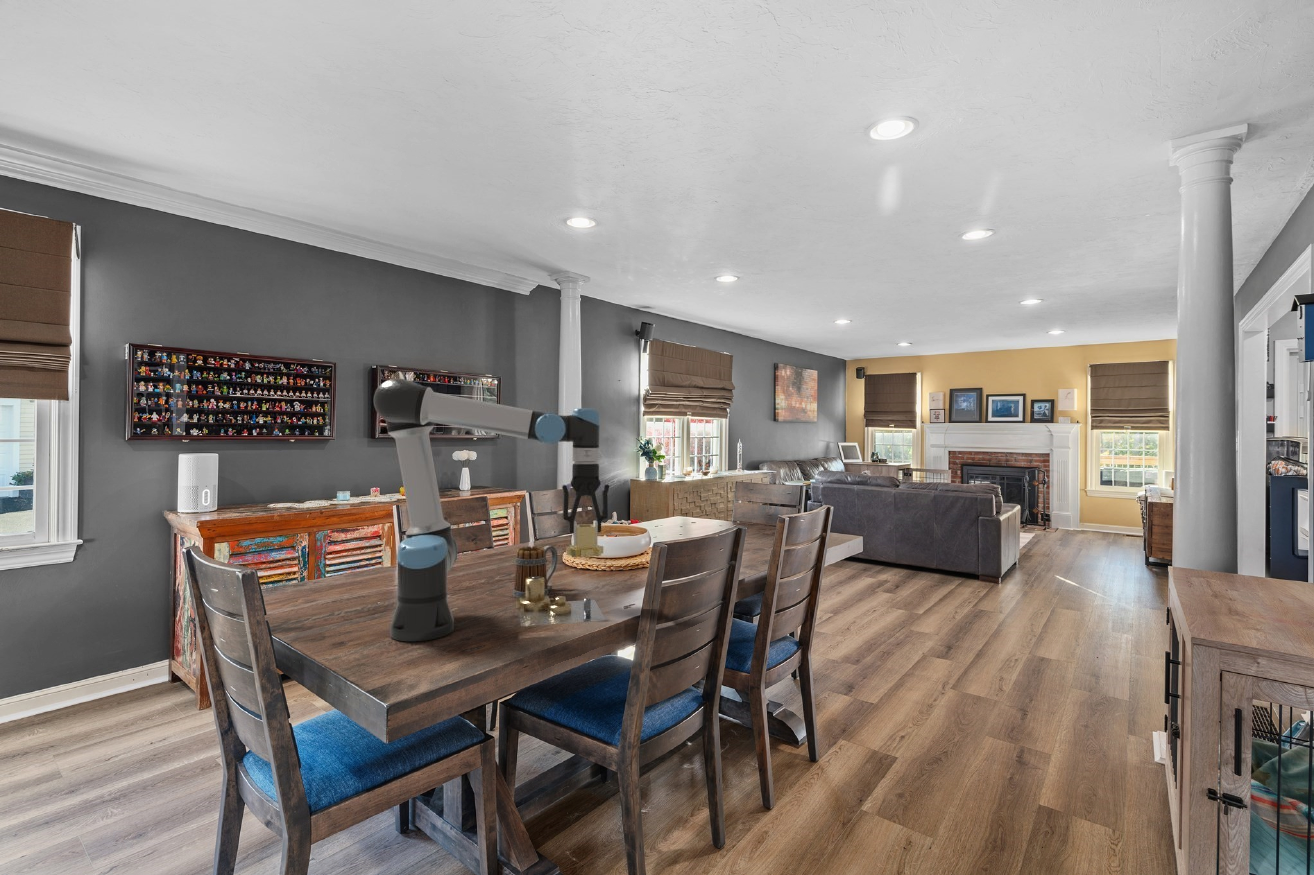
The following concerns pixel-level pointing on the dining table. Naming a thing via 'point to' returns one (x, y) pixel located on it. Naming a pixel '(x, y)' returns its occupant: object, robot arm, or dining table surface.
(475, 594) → the dining table surface
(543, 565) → the mug
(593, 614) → the carrier
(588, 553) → the gear
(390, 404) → the robot arm
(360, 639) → the dining table surface
